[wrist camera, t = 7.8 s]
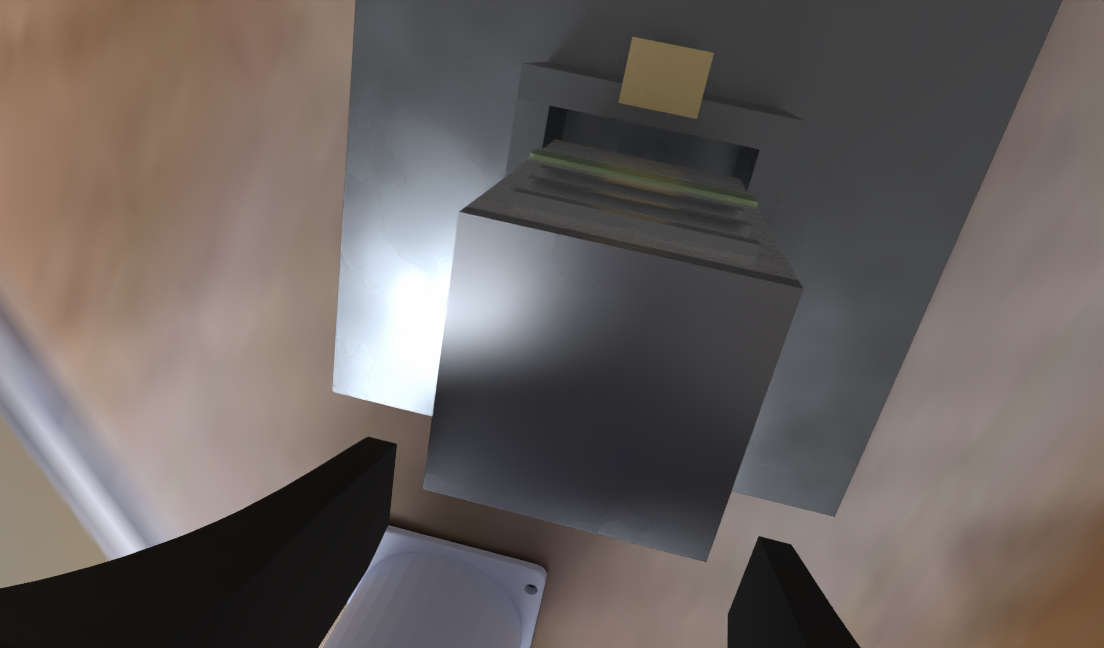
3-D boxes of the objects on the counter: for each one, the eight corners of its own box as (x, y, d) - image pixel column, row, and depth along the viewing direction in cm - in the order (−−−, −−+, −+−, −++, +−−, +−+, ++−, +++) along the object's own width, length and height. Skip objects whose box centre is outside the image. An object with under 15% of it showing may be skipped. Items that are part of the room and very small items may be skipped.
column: (691, 348, 16) (708, 565, 9) (522, 309, 16) (419, 491, 9) (743, 172, 14) (812, 277, 7) (554, 131, 14) (456, 199, 8)
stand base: (828, 498, 24) (866, 603, 19) (344, 379, 25) (274, 450, 20) (1079, -85, 16) (1232, -137, 12) (383, -207, 18) (288, -295, 13)
